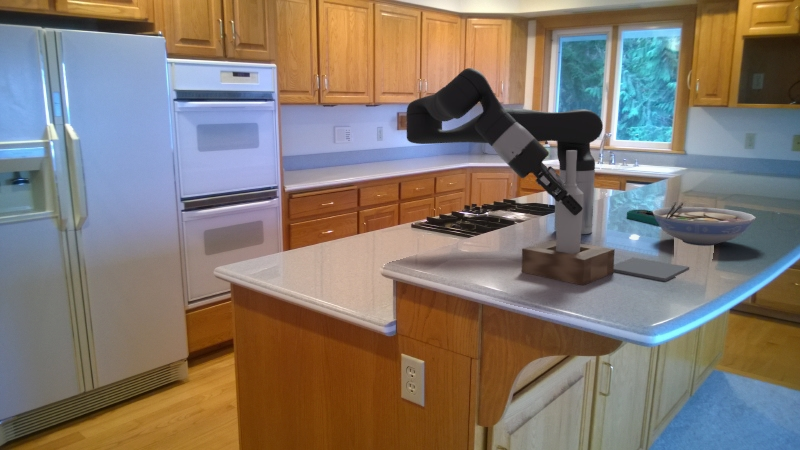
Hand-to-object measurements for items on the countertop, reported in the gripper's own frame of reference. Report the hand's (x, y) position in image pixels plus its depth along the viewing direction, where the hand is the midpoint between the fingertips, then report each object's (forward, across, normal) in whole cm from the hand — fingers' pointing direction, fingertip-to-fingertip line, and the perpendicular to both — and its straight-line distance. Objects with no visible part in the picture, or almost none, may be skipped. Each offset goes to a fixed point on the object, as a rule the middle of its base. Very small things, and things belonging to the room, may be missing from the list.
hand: (578, 209), depth 117 cm
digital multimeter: (+25, -66, +6) cm, 71 cm away
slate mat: (+19, -6, +1) cm, 20 cm away
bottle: (+8, 0, -11) cm, 14 cm away
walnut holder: (+8, 0, -11) cm, 13 cm away
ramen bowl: (+30, -36, +11) cm, 49 cm away
